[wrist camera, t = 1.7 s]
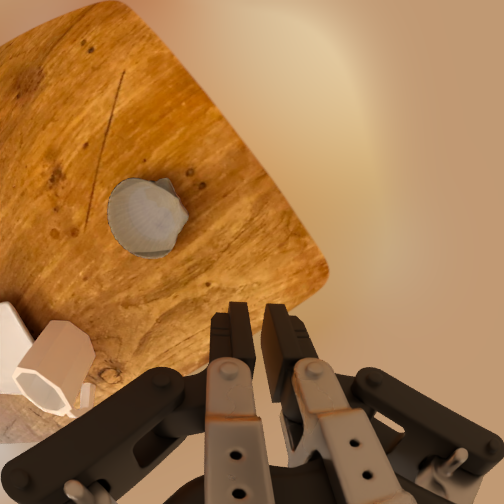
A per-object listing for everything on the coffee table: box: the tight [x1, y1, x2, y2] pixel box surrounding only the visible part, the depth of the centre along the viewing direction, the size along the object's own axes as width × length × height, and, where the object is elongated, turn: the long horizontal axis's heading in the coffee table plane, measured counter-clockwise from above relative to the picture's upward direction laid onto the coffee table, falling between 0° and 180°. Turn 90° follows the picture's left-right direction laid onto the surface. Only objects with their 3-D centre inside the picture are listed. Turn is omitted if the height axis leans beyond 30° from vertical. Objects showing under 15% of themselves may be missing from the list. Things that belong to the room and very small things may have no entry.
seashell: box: [107, 178, 189, 259], centre depth 25 cm, size 8×3×8 cm
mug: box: [12, 320, 96, 418], centre depth 27 cm, size 12×9×10 cm
